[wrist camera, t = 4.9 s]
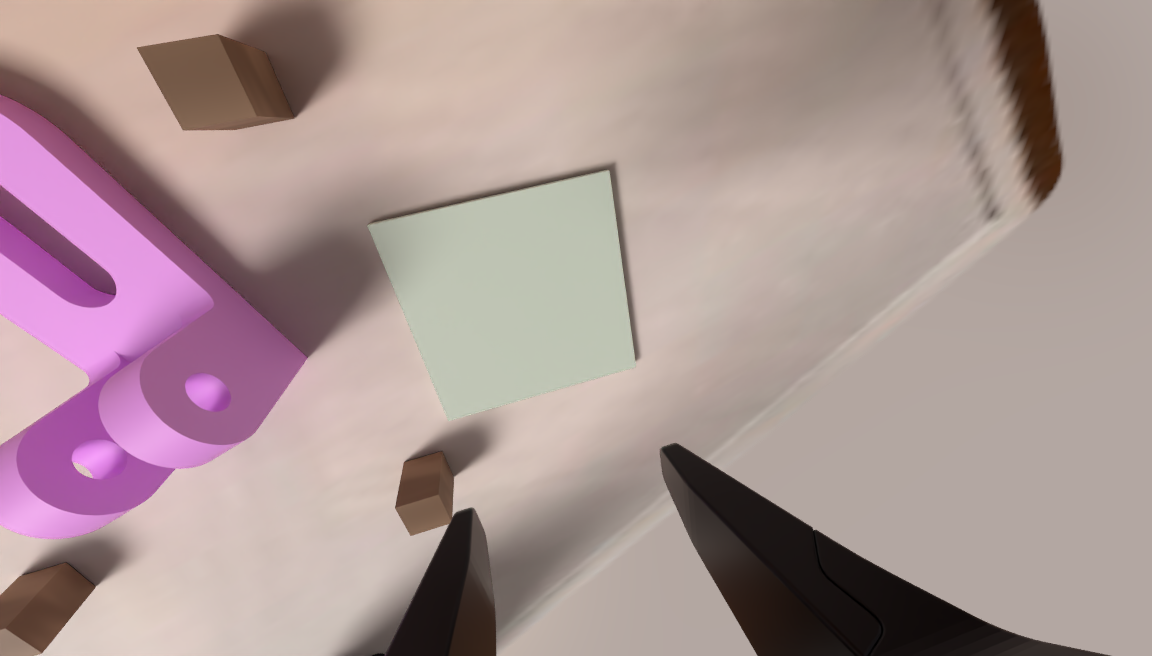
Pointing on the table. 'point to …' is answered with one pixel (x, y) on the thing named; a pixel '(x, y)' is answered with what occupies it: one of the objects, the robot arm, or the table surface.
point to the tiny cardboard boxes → (204, 102)
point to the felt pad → (512, 291)
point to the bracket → (120, 344)
